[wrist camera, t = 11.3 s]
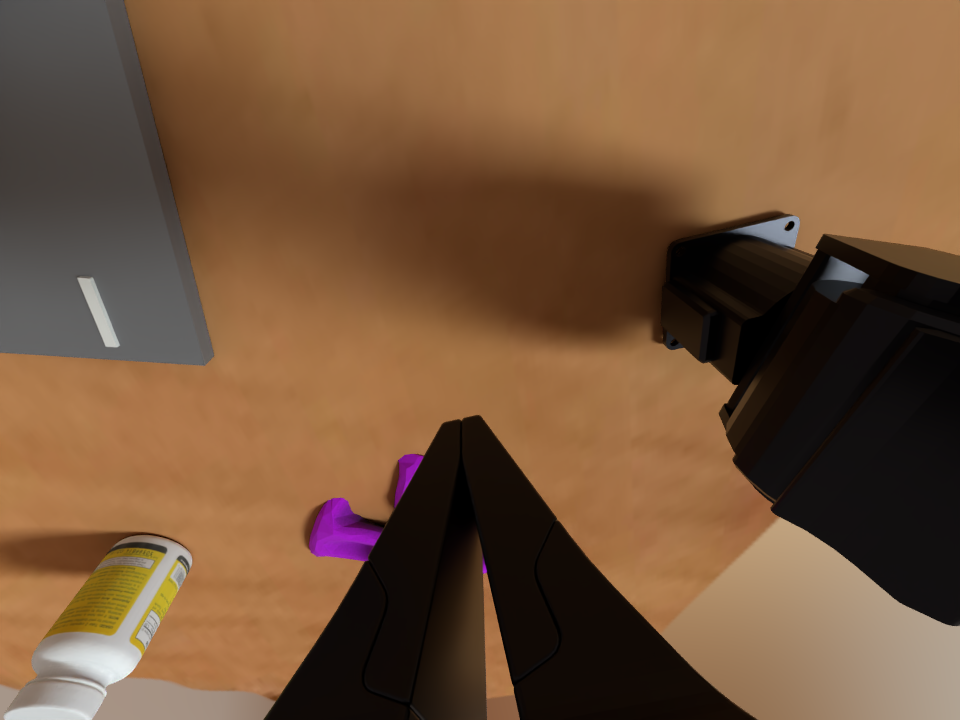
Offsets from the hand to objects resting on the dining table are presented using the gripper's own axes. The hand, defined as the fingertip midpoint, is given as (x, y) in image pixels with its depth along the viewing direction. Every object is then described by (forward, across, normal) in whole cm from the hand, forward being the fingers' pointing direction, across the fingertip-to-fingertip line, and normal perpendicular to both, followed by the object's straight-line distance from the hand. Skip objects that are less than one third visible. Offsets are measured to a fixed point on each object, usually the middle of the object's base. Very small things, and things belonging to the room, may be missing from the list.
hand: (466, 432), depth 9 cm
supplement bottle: (+13, +28, +17) cm, 35 cm away
